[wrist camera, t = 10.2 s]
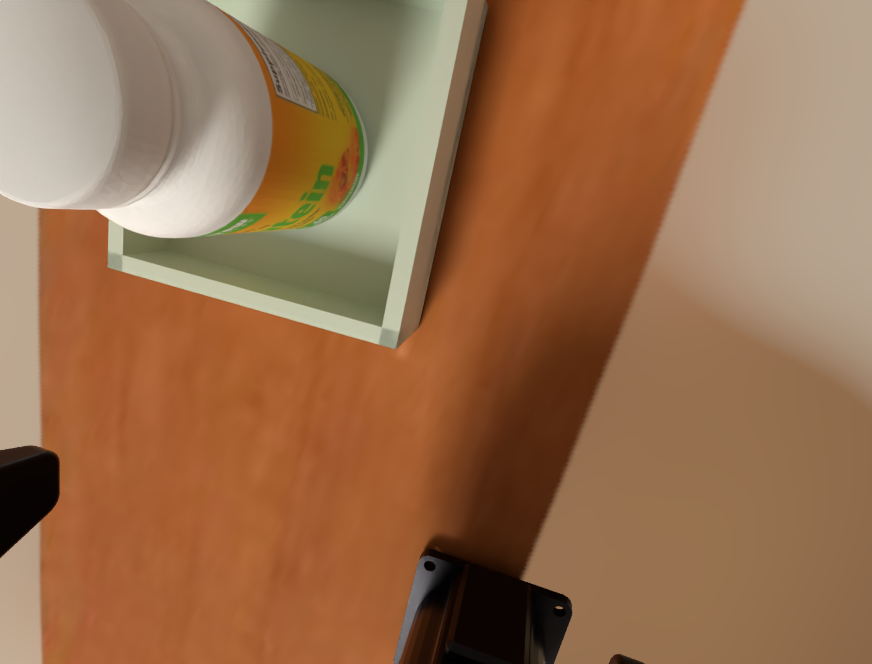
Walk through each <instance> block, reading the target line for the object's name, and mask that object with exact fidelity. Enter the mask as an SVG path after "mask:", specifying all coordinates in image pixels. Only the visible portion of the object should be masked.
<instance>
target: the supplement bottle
mask: <svg viewBox="0 0 872 664" xmlns="http://www.w3.org/2000/svg"><path fill="white" fill-rule="evenodd" d="M367 158H368V145H367V137H366V131H365V128H364V124H363V121H362V118H361V116H360V114H359V111H358V109H357V107H356V105H355V104H354V102H353V100H352V99H351V97H350V96H349V95H348V93H347V92H346V91H345V90H344V88H343V87H342V86H341V85H340V84H339V83H337V82H336V81H335V80H334V79H333V78H331V77H330V76H329V75H327V74H326V73H325V72H323V71H322V70H320V69H318V68H317V67H315V66H314V65H312V64H310V63H309V62H307V61H306V60H304V59H302V58H300V57H299V56H297V55H295V54H294V53H292V52H291V51H289V50H287V49H286V48H284V47H282V46H281V45H279V44H278V43H276V42H274V41H272V40H271V39H269V38H267V37H266V36H264V35H262V34H261V33H259V32H257V31H256V30H254V29H252V28H251V27H249V26H247V25H246V24H244V23H242V22H241V21H239V20H237V19H236V18H234V17H233V16H231V15H229V14H227V13H226V12H224V11H223V10H221V9H220V8H218V7H216V6H215V5H213V4H211V3H210V2H208V1H206V0H0V194H2V195H3V196H5V197H7V198H10V199H12V200H14V201H16V202H19V203H22V204H25V205H28V206H32V207H38V208H47V209H83V210H97V211H98V212H100V213H101V214H102V215H104V216H105V217H107V218H108V219H110V220H112V221H113V222H115V223H116V224H118V225H120V226H122V227H124V228H126V229H128V230H131V231H133V232H136V233H140V234H143V235H147V236H153V237H159V238H190V237H202V236H214V235H225V234H236V233H249V232H262V231H277V230H292V229H303V228H309V227H314V226H318V225H321V224H323V223H325V222H328V221H330V220H331V219H333V218H334V217H336V216H337V215H339V214H340V213H341V212H342V211H343V210H344V209H345V208H346V207H347V206H348V205H349V204H350V203H351V201H352V200H353V199H354V197H355V196H356V194H357V192H358V190H359V188H360V186H361V184H362V181H363V178H364V175H365V171H366V166H367Z"/></svg>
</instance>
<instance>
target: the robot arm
mask: <svg viewBox="0 0 872 664" xmlns="http://www.w3.org/2000/svg"><path fill="white" fill-rule="evenodd" d="M59 494H60V462H59V458H58V456H57V454H55V453H54V452H52V451H49V450H46V449H43V448H41V447H37V446H23V447H17V448H12V449H5V450H0V558H1V557H2V556H3V555H4V554H5V553H6V552H7V551H8V550H9V549H11V547H13V546H14V545H15V544H16V543H17V542H18V541H19V540H20V539H21V538H22V537H24V536H25V535H26V534H27V533H28V532H29V531H30V530H31V529H32V528H33V527H34V526H35V525H36V524H38V523H39V522H40V521H41V520H42V519H43V518H44V517H45V516H46V515H47V514H48V513H49V512H50V511H51V510H52V509H53V508H54V506H55V505H56V503H57V501H58V499H59ZM427 561H431V562H433V563H434V564H435V565H430V564H429V563H428V562H427ZM556 606H561V607H563V609H556V608H555V607H556ZM571 616H572V604H571V601H570V600H569V599H568V597H566V596H564V595H563V594H560V593H557V592H554V591H551V590H548V589H545V588H542V587H539V586H536V585H534V584H531V583H528V582H525V581H522V580H519V579H516V578H513V577H510V576H508V575H505V574H502V573H499V572H496V571H493V570H490V569H487V568H484V567H481V566H479V565H476V564H473V563H470V562H467V561H464V560H461V559H458V558H455V557H452V556H449V555H447V554H444V553H441V552H438V551H435V550H425V551H424V552H423V553H422V554H421V556H420V559H419V562H418V566H417V570H416V574H415V578H414V582H413V586H412V590H411V593H410V597H409V601H408V605H407V609H406V613H405V617H404V621H403V625H402V629H401V633H400V637H399V641H398V645H397V649H396V653H395V657H394V664H554V661H555V659H556V656H557V653H558V651H559V648H560V645H561V643H562V640H563V638H564V635H565V632H566V630H567V627H568V624H569V622H570V619H571ZM609 664H644V663H643V662H640V661H638V660H635V659H632V658H629V657H626V656H624V655H621V654H616V655H614V656H613V657H612V658H611V660H610V662H609Z"/></svg>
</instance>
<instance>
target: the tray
mask: <svg viewBox="0 0 872 664" xmlns="http://www.w3.org/2000/svg"><path fill="white" fill-rule="evenodd" d="M206 1H208V2H210V3H211V4H213V5H215V6H216V7H218V8H220V9H221V10H223V11H224V12H226V13H227V14H229V15H231V16H233V17H234V18H236V19H237V20H239V21H241V22H242V23H244V24H246V25H247V26H249V27H251V28H252V29H254V30H256V31H257V32H259V33H261V34H262V35H264V36H266V37H267V38H269V39H271V40H272V41H274V42H276V43H278V44H279V45H281V46H282V47H284V48H286V49H287V50H289V51H291V52H292V53H294V54H295V55H297V56H299V57H300V58H302V59H304V60H306V61H307V62H309V63H310V64H312V65H314V66H315V67H317V68H318V69H320V70H322V71H323V72H325V73H326V74H327V75H329V76H330V77H331V78H333V79H334V80H335V81H336V82H337V83H339V84H340V85H341V86H342V87H343V88H344V90H345V91H346V92H347V93H348V95H349V96H350V97H351V99H352V100H353V102H354V104H355V105H356V107H357V109H358V111H359V114H360V116H361V118H362V121H363V124H364V128H365V131H366V137H367V145H368V158H367V166H366V171H365V175H364V178H363V181H362V184H361V186H360V188H359V190H358V192H357V194H356V196H355V197H354V199H353V200H352V201H351V203H350V204H349V205H348V206H347V207H346V208H345V209H344V210H343V211H342V212H341V213H340V214H339V215H337V216H336V217H334V218H333V219H331V220H330V221H328V222H325V223H323V224H321V225H318V226H314V227H309V228H303V229H292V230H277V231H262V232H249V233H236V234H225V235H214V236H202V237H190V238H159V237H153V236H147V235H143V234H140V233H136V232H133V231H131V230H128V229H126V228H124V227H122V226H120V225H118V224H116V223H115V222H113V221H112V220H110V219H109V235H108V268H111V269H115V270H118V271H122V272H125V273H129V274H133V275H136V276H140V277H143V278H147V279H150V280H154V281H157V282H161V283H164V284H168V285H171V286H175V287H178V288H182V289H185V290H189V291H192V292H196V293H199V294H203V295H206V296H210V297H213V298H217V299H221V300H224V301H228V302H231V303H235V304H238V305H242V306H245V307H249V308H252V309H256V310H259V311H263V312H266V313H270V314H273V315H277V316H280V317H284V318H287V319H291V320H294V321H298V322H301V323H305V324H308V325H312V326H316V327H319V328H323V329H326V330H330V331H333V332H337V333H340V334H344V335H347V336H351V337H354V338H358V339H361V340H365V341H368V342H372V343H375V344H379V345H382V346H386V347H389V348H393V349H397V348H398V347H399V346H400V345H401V344H402V343H403V342H404V341H405V340H406V339H407V338H408V337H410V336H411V335H412V334H413V333H414V332H415V331H416V330H417V329H418V328H419V323H420V319H421V314H422V309H423V305H424V300H425V296H426V291H427V286H428V282H429V277H430V272H431V268H432V263H433V259H434V254H435V249H436V245H437V240H438V236H439V231H440V226H441V222H442V217H443V213H444V208H445V203H446V199H447V194H448V190H449V185H450V180H451V176H452V171H453V167H454V162H455V157H456V153H457V148H458V144H459V139H460V134H461V130H462V125H463V120H464V116H465V111H466V107H467V102H468V97H469V93H470V88H471V84H472V79H473V74H474V70H475V65H476V61H477V56H478V51H479V47H480V42H481V38H482V33H483V28H484V24H485V19H486V15H487V10H488V5H487V1H486V0H206Z"/></svg>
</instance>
